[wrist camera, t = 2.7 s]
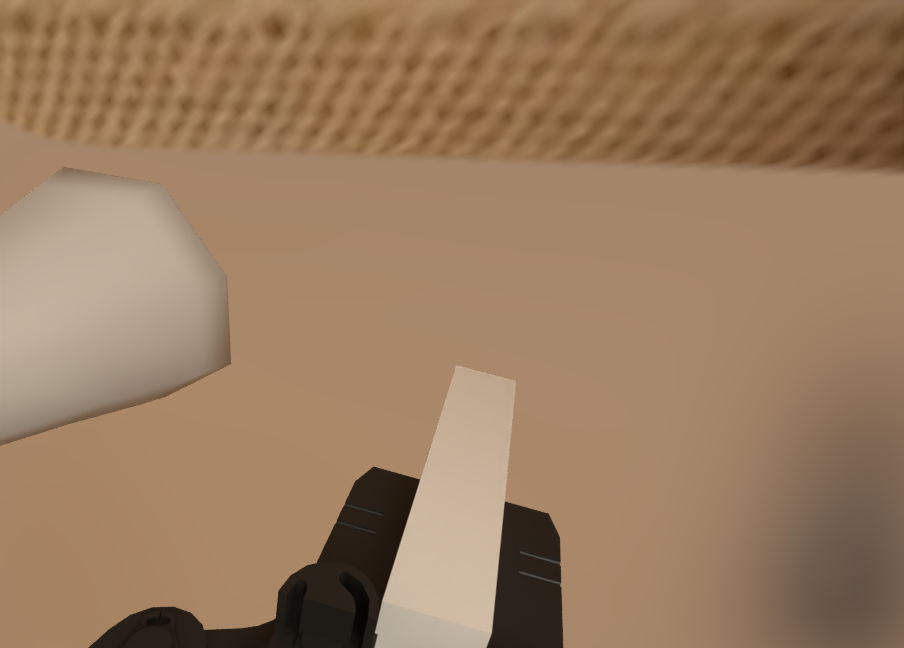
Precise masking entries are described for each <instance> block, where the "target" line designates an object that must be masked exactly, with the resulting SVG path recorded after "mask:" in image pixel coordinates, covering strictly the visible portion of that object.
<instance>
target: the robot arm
mask: <svg viewBox="0 0 904 648" xmlns="http://www.w3.org/2000/svg"><path fill="white" fill-rule="evenodd" d="M515 390H516V381H514V380H511V379H507V378H503V377H499V376H496V375H492V374H488V373H484V372H480V371H477V370H473V369H469V368H465V367H462V366H458V365H456V368H455V371H454V374H453V377H452V380H451V384H450V387H449V390H448V393H447V396H446V400H445V403H444V406H443V409H442V413H441V416H440V419H439V422H438V425H437V428H436V431H435V435H434V438H433V441H432V444H431V447H430V451H429V454H428V457H427V460H426V463H425V466H424V470H423V473H422V476H421V479H416V478H413V477H409V476H405V475H402V474H398V473H395V472H391V471H387V470H384V469H380V468H377V467H373V468H371V469H370V470H369V471H368V472H367V473H365V474H364V475H363V476H362V477H360V478H359V479H358V480H356V481H355V483H354V485H353V487H352V489H351V491H350V494H349V496H348V498H347V500H346V502H345V505H344V507H343V508H342V510H341V513H340V515H339V517H338V519H337V522H336V524H335V525H334V527H333V529H332V531H331V534H330V536H329V538H328V540H327V542H326V544H325V546H324V548H323V550H322V553H321V555H320V557H319V559H318V561H317V563H316V564H311V565H307V566H305V567H304V568H302V569H300V570H299V571H297V572H296V573H294V574H292V575H291V576H290V577H289V578H288V579H287V581H286V582H285V583H284V585H283V586H282V587H281V588H280V590H279V592H278V603H277V612H276V619H274V620H272V621H270V622H267V623H265V624H262V625H259V626H254V627H248V628H239V629H216V630H204V629H203V625H202V624H201V623H200V622H199V621H198V620H197V619H196V618H195V617H194V616H193V615H192V614H191V613H190V612H187V611H184V610H181V609H178V608H176V607H153V608H149V609H146V610H143V611H141V612H138V613H135V614H132V615H130V616H128V617H127V618H125V619H124V620H122V621H121V622H119V623H118V624H116V625H115V626H113V627H112V628H110V629H109V630H108V631H107V632H106V633H105V634H103V635H102V636H101V637H100V638H99V639H98V640H97V641H96V642H94V643H93V644H92V645H91V646H90V647H89V648H563V626H562V594H561V587H560V584H561V566H560V561H561V560H560V537H559V535H558V532H557V530H556V528H555V526H554V524H553V522H552V520H551V518H550V516H549V514H548V513H544V512H541V511H537V510H533V509H529V508H526V507H522V506H519V505H515V504H512V503H508V502H505V492H506V482H507V472H508V461H509V450H510V441H511V431H512V420H513V410H514V400H515Z"/></svg>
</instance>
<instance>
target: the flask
mask: <svg viewBox="0 0 904 648" xmlns="http://www.w3.org/2000/svg"><path fill="white" fill-rule="evenodd" d="M229 364H231V357H230V335H229V314H228V292H227V275H226V274H225V273H224V271H223V270H222V268H221V267H220V265H219V264H218V263H217V261H216V260H215V258H214V257H213V256H212V254H211V253H210V251H209V250H208V248H207V247H206V246H205V244H204V243H203V241H202V240H201V238H200V237H199V236H198V234H197V233H196V231H195V230H194V228H193V227H192V226H191V224H190V223H189V221H188V220H187V218H186V217H185V216H184V214H183V213H182V211H181V210H180V209H179V207H178V206H177V204H176V203H175V202H174V200H173V199H172V197H171V196H170V195H169V193H168V192H167V190H166V189H165V187H164V186H163V184H158V183H152V182H146V181H141V180H135V179H129V178H123V177H118V176H112V175H106V174H101V173H95V172H89V171H83V170H78V169H72V168H66V167H64V168H62V169H61V170H60V171H58V172H57V173H55V174H54V175H53V176H51V177H50V178H49V179H47V180H46V181H44V182H43V183H41V184H40V185H39V186H37V187H36V188H35V189H33V190H32V191H31V192H30V193H29V194H27V195H26V196H24V197H23V198H22V199H20V200H19V201H18V202H16V203H15V204H14V205H13V206H11V207H10V208H9V209H8V210H6V211H5V212H3V213H2V214H1V215H0V445H3V444H6V443H10V442H13V441H16V440H19V439H22V438H25V437H29V436H32V435H35V434H38V433H41V432H45V431H48V430H51V429H54V428H57V427H60V426H64V425H67V424H70V423H74V422H78V421H81V420H85V419H88V418H92V417H96V416H100V415H103V414H107V413H110V412H114V411H118V410H122V409H125V408H129V407H133V406H136V405H140V404H143V403H147V402H150V401H153V400H156V399H159V398H163V397H166V396H168V395H170V394H172V393H174V392H176V391H178V390H180V389H181V388H184V387H186V386H188V385H190V384H192V383H194V382H196V381H198V380H200V379H202V378H204V377H205V376H208V375H209V374H212V373H213V372H216V371H218V370H219V369H222V368H224V367H226V366H227V365H229Z"/></svg>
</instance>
